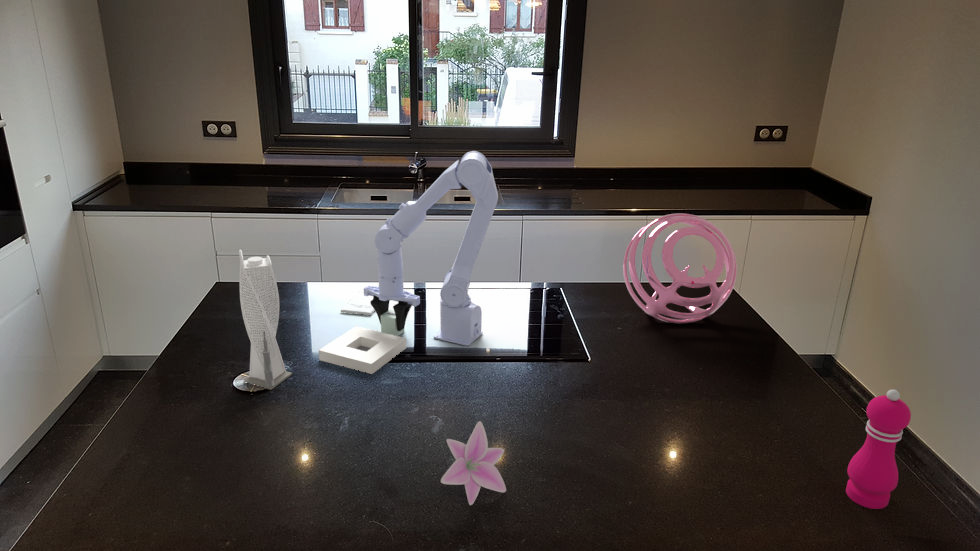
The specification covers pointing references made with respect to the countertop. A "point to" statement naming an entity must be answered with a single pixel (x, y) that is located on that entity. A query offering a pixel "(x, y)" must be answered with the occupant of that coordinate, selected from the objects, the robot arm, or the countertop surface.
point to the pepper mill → (878, 452)
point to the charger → (390, 323)
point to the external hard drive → (359, 305)
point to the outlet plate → (362, 349)
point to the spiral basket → (680, 277)
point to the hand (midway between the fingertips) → (392, 327)
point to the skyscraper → (261, 321)
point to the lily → (474, 464)
